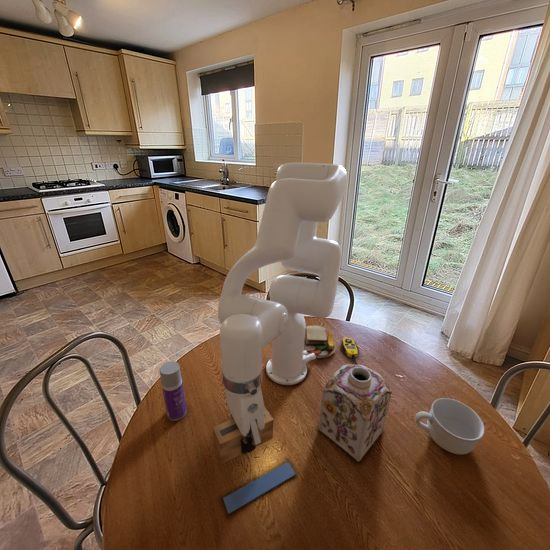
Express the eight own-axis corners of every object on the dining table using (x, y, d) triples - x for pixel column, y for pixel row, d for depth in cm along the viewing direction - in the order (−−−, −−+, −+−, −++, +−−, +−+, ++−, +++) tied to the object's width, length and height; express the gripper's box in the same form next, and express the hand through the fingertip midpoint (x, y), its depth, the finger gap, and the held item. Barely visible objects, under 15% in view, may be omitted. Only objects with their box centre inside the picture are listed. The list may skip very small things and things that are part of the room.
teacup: (468, 428, 73) (477, 404, 70) (480, 469, 64) (492, 445, 60) (408, 411, 77) (414, 389, 74) (411, 448, 68) (419, 424, 64)
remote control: (353, 336, 103) (366, 366, 90) (353, 341, 104) (365, 370, 90) (340, 336, 103) (350, 366, 89) (339, 340, 104) (350, 370, 90)
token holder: (263, 423, 68) (263, 404, 66) (272, 438, 65) (273, 419, 62) (214, 446, 63) (212, 426, 60) (221, 464, 59) (219, 444, 57)
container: (180, 422, 72) (173, 376, 66) (163, 418, 73) (154, 373, 67) (189, 407, 77) (183, 362, 70) (173, 404, 77) (165, 359, 71)
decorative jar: (343, 402, 79) (352, 349, 72) (383, 430, 72) (398, 374, 64) (315, 429, 71) (322, 373, 64) (357, 464, 64) (371, 405, 56)
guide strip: (288, 462, 64) (288, 461, 64) (295, 475, 62) (295, 474, 62) (223, 499, 57) (222, 498, 57) (228, 514, 55) (228, 513, 55)
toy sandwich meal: (298, 357, 95) (298, 346, 93) (300, 333, 107) (301, 322, 105) (336, 362, 94) (338, 350, 92) (334, 336, 106) (336, 325, 104)
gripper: (281, 399, 51) (277, 466, 59) (242, 345, 65) (244, 405, 72) (241, 416, 48) (243, 485, 55) (209, 355, 61) (214, 418, 69)
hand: (243, 439), depth 64 cm, fingers closed on token holder, 4 cm apart
